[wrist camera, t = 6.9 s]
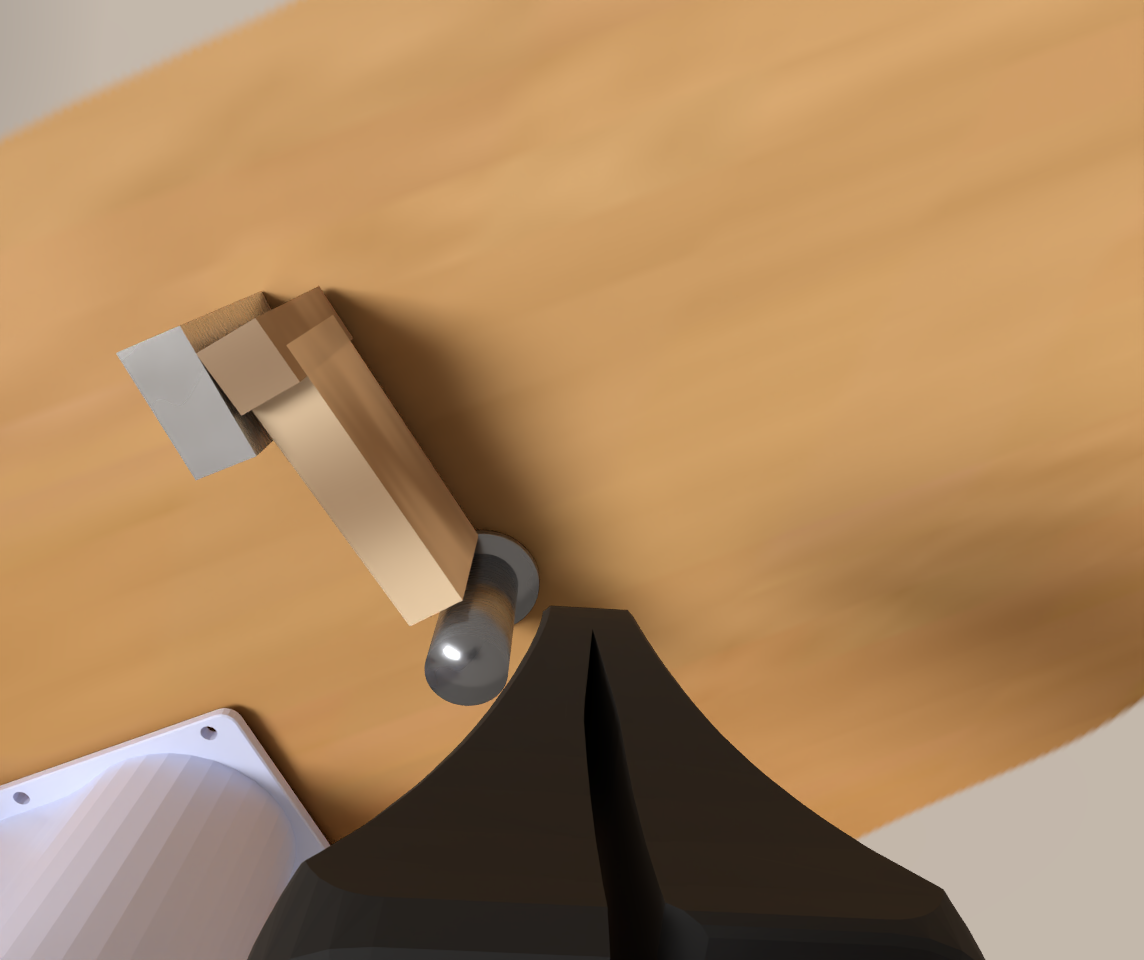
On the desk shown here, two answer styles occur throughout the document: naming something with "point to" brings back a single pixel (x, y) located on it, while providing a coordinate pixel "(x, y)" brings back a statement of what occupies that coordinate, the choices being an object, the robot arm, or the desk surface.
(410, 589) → the light wooden bar
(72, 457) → the desk surface
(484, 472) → the desk surface
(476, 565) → the pivot post
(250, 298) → the white-faced wooden block
